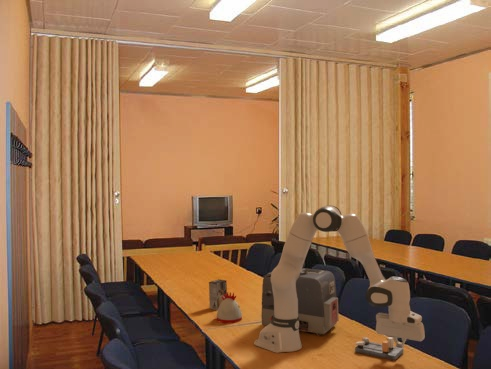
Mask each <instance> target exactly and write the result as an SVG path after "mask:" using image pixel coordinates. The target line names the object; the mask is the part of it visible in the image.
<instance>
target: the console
mask: <svg viewBox="0 0 491 369" xmlns="http://www.w3.org/2000/svg"><path fill="white" fill-rule="evenodd" d="M354 353H357V354H363V355H366V356H371V357H375V358H381V359H387V360H390V361H396V360H398V359H399V358H400V356H402V354H404V348H399V347H396V346H394V345H393V347H392V348H389V351H388V352H383V351H382V343H379V342H375V341H374V342H373V341H369V343H365V344H364V345H356V347H354Z"/></svg>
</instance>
